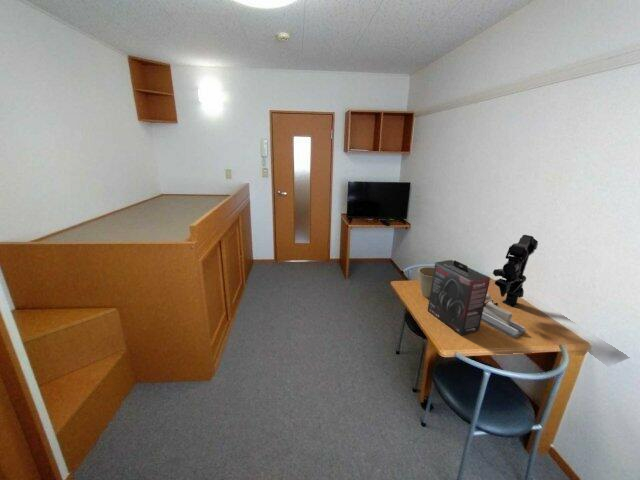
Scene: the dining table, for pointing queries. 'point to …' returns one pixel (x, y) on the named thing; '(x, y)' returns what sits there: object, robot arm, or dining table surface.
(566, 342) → the dining table surface
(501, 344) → the dining table surface
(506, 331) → the rail
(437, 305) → the headset box
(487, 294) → the clip-on lamp
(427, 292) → the plant pot
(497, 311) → the door panel
